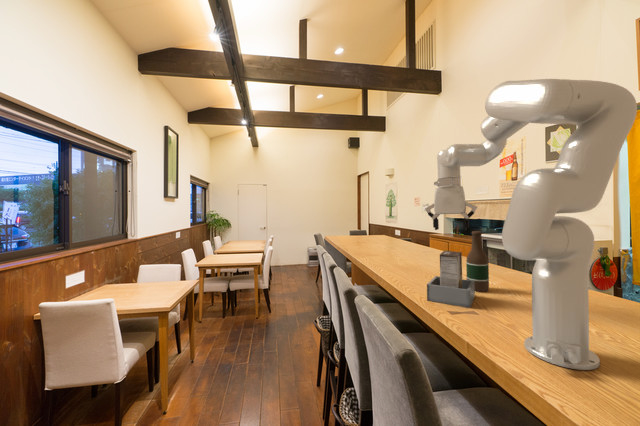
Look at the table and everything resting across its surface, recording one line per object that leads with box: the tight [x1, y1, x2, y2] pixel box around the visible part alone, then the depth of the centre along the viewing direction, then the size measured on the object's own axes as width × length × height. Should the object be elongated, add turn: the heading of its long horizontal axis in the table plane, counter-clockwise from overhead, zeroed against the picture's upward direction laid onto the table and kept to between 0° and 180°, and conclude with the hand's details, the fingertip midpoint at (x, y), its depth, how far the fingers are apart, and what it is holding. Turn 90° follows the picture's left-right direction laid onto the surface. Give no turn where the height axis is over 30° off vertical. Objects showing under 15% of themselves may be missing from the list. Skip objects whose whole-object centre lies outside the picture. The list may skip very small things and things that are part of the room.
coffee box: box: [439, 250, 463, 289], centre depth 97 cm, size 9×6×16 cm
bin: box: [426, 275, 476, 309], centre depth 98 cm, size 14×14×6 cm
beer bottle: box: [465, 230, 490, 293], centre depth 107 cm, size 8×8×24 cm
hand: (450, 229), depth 97 cm, fingers open, 9 cm apart
